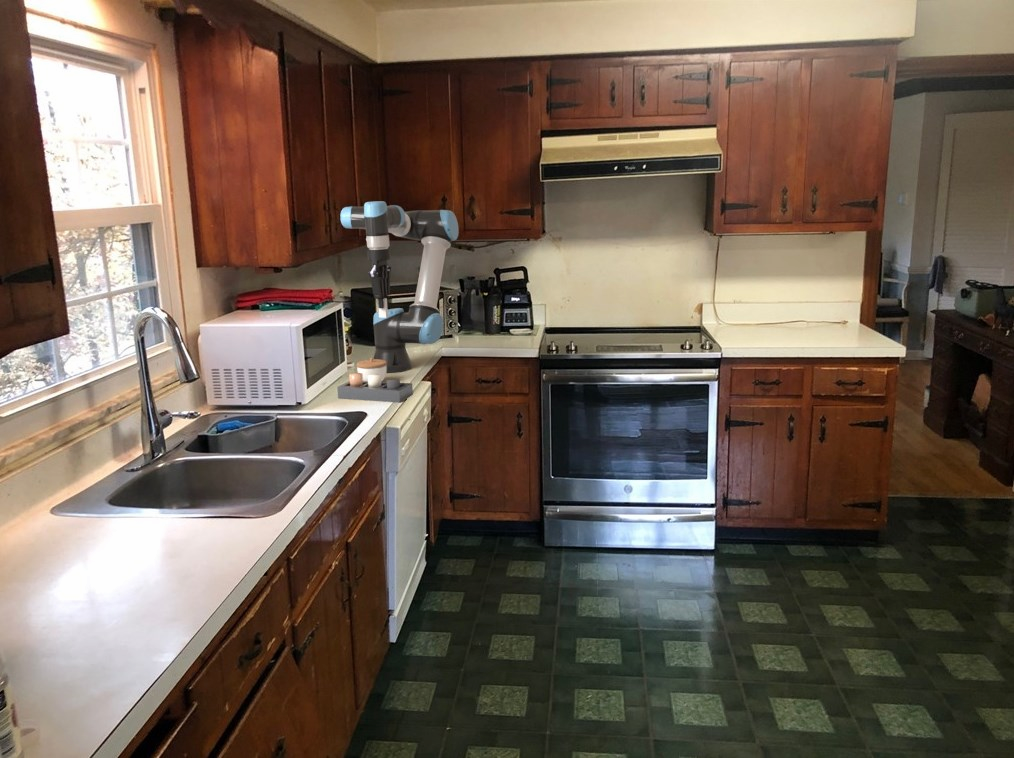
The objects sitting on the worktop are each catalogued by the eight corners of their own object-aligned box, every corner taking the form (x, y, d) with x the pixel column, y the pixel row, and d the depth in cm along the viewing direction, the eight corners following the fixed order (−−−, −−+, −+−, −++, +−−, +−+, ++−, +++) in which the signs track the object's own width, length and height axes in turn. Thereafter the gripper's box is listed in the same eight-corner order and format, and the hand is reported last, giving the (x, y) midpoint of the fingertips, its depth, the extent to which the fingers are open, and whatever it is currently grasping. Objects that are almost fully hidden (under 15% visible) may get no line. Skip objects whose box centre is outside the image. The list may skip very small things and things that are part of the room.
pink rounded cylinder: (354, 386, 272) (353, 372, 271) (365, 387, 271) (364, 373, 270) (347, 389, 268) (346, 375, 267) (359, 390, 267) (358, 376, 266)
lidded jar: (361, 388, 280) (359, 362, 278) (355, 381, 290) (353, 356, 287) (391, 384, 284) (389, 359, 282) (384, 378, 294) (382, 353, 291)
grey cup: (391, 393, 268) (390, 379, 267) (402, 394, 267) (402, 379, 266) (385, 396, 264) (384, 382, 263) (397, 397, 263) (396, 382, 262)
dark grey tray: (352, 391, 276) (352, 379, 275) (412, 394, 269) (412, 383, 268) (338, 398, 267) (337, 386, 266) (399, 402, 260) (399, 390, 259)
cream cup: (372, 387, 270) (371, 373, 269) (384, 388, 269) (383, 374, 268) (366, 390, 266) (365, 376, 265) (377, 391, 265) (376, 377, 264)
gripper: (377, 246, 274) (382, 313, 280) (359, 250, 262) (365, 320, 268) (396, 246, 272) (401, 313, 278) (379, 250, 260) (385, 320, 266)
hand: (383, 317), depth 273 cm, fingers closed
